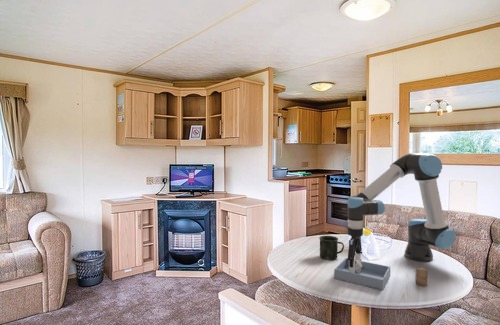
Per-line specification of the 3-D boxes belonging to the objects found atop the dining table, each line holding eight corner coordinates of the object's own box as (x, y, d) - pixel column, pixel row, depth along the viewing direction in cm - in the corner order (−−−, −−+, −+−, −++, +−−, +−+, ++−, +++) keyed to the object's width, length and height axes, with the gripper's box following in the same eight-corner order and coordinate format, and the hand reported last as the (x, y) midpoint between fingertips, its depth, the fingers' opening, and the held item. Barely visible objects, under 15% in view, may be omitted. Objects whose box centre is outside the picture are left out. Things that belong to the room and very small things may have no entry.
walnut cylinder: (416, 280, 155) (416, 267, 154) (427, 283, 152) (428, 269, 152) (415, 284, 151) (415, 270, 150) (426, 287, 148) (427, 272, 147)
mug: (318, 253, 194) (319, 235, 194) (343, 255, 191) (343, 236, 191) (319, 260, 184) (319, 240, 183) (344, 261, 181) (344, 241, 180)
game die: (355, 282, 160) (356, 271, 154) (343, 271, 166) (343, 260, 160) (367, 272, 163) (368, 261, 157) (355, 262, 169) (355, 250, 163)
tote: (345, 266, 173) (345, 257, 173) (390, 276, 161) (390, 266, 160) (334, 278, 158) (334, 269, 157) (382, 290, 145) (383, 280, 144)
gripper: (354, 221, 172) (353, 260, 173) (341, 231, 152) (340, 275, 154) (368, 223, 167) (367, 263, 169) (356, 233, 148) (356, 278, 149)
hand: (354, 269), depth 161 cm, fingers open, 11 cm apart
